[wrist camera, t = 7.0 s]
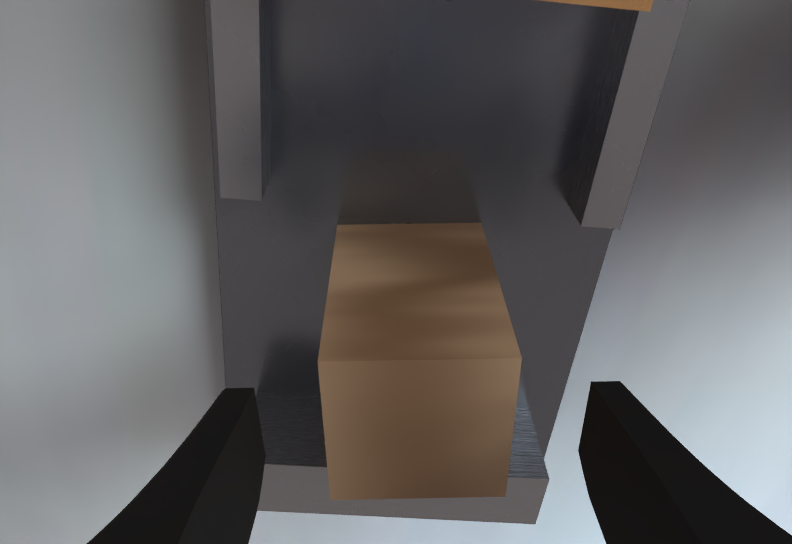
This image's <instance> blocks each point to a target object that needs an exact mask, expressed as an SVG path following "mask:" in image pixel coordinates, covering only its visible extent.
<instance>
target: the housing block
mask: <svg viewBox="0 0 792 544" xmlns="http://www.w3.org/2000/svg"><path fill="white" fill-rule="evenodd" d="M521 362H522V357H521V353H520V350H519V347H518V343H517V340H516V337H515V333H514V330H513V327H512V323H511V320H510V317H509V313H508V310H507V307H506V303H505V300H504V297H503V293H502V290H501V287H500V283H499V280H498V277H497V273H496V270H495V267H494V263H493V260H492V257H491V253H490V250H489V246H488V243H487V240H486V236H485V233H484V230H483V226H482V223H425V224H359V225H337V230H336V237H335V244H334V251H333V257H332V264H331V271H330V278H329V285H328V292H327V299H326V306H325V313H324V320H323V327H322V334H321V341H320V348H319V355H318V372H319V383H320V394H321V405H322V416H323V427H324V437H325V448H326V459H327V470H328V481H329V492H330V500H361V499H413V498H465V497H506V490H507V481H508V473H509V464H510V456H511V447H512V439H513V430H514V421H515V413H516V404H517V396H518V387H519V379H520V370H521Z"/></svg>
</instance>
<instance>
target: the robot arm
mask: <svg viewBox="0 0 792 544" xmlns="http://www.w3.org/2000/svg"><path fill="white" fill-rule="evenodd" d="M578 451H579V456H580V460H581V465H582V469H583V474H584V478H585V482H586V486H587V490H588V494H589V497H590V500H591V503H592V506H593V508H594V511H595V514H596V517H597V519H598V522H599V525H600V528H601V530H602V533H603V536H604V538H605V541H606V544H792V535H790V534H789V533H788V532H786V531H785V530H783V529H782V528H781V527H779V526H778V525H776V524H775V523H774V522H773V521H771V520H770V519H769V518H767V517H766V516H765V515H763V514H762V513H761V512H759V511H758V510H757V509H755V508H754V507H753V506H752V505H750V504H749V503H748V502H746V501H745V500H744V499H743V498H741V497H740V496H739V495H738V494H737V493H735V492H734V491H733V490H732V489H731V488H729V487H728V486H727V485H726V484H725V483H724V482H723V481H721V480H720V479H719V478H718V477H717V476H716V475H714V474H713V473H712V472H711V471H710V470H709V469H708V468H706V467H705V466H704V465H703V464H702V463H701V462H700V461H699V460H698V459H697V458H696V457H695V456H694V455H692V454H691V453H690V452H689V451H688V450H687V449H686V448H685V447H684V446H683V445H682V444H681V443H680V442H679V441H678V440H677V439H676V438H675V437H674V436H673V435H672V434H671V433H670V432H669V431H668V430H667V429H666V428H665V427H664V426H663V425H662V424H661V423H660V422H659V421H658V420H657V419H656V418H655V417H654V416H653V415H652V414H651V413H650V412H649V411H648V410H647V409H646V408H645V407H644V406H643V405H642V404H641V402H640V401H639V400H638V399H637V398H636V397H635V396H634V395H633V394H632V393H631V392H630V391H629V390H628V389H627V388H626V387H625V386H624V385H623V384H622V383H621V382H620V381H606V382H591V386H590V391H589V396H588V402H587V407H586V412H585V418H584V423H583V428H582V434H581V439H580V444H579V450H578ZM265 458H266V455H265V449H264V443H263V437H262V431H261V425H260V419H259V413H258V408H257V402H256V396H255V390H254V388H225V389H224V390H223V391H222V392H221V393H220V395H219V396H218V397H217V399H216V400H215V402H214V403H213V404H212V406H211V407H210V408H209V410H208V411H207V412H206V414H205V415H204V416H203V418H202V419H201V420H200V422H199V423H198V424H197V425H196V427H195V428H194V429H193V431H192V432H191V433H190V434H189V436H188V437H187V438H186V439H185V441H184V442H183V443H182V444H181V446H180V447H179V448H178V449H177V450H176V452H175V453H174V454H173V455H172V456H171V458H170V459H169V460H168V461H167V463H166V464H165V465H164V466H163V467H162V468H161V469H160V471H159V472H158V473H157V474H156V475H155V476H154V477H153V478H152V479H151V480H150V482H149V483H148V484H147V485H146V486H145V487H144V488H143V489H142V490H141V491H140V493H139V494H138V495H137V496H136V497H135V498H134V499H133V500H132V501H131V502H130V503H129V504H128V505H127V506H126V507H125V508H124V509H123V510H122V511H121V512H120V513H119V514H118V515H117V516H116V517H115V518H114V519H113V520H112V521H111V522H110V523H109V524H108V525H107V526H106V527H105V528H104V529H102V530H101V531H100V532H99V533H98V534H97V535H96V536H95V537H94V538H93V539H92V540H90V541H89V542H88V543H87V544H248V543H249V539H250V535H251V531H252V528H253V524H254V520H255V516H256V512H257V508H258V504H259V500H260V493H261V487H262V480H263V473H264V465H265Z"/></svg>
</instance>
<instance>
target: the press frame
mask: <svg viewBox="0 0 792 544" xmlns="http://www.w3.org/2000/svg"><path fill="white" fill-rule="evenodd" d="M689 1H690V0H653V3H652V7H651V10H650V12H647V11H637V10H627V9H618V8H608V7H598V6H588V5H578V4H568V3H558V2H549V1H539V0H204V3H205V21H206V39H207V57H208V75H209V93H210V111H211V129H212V147H213V165H214V184H215V202H216V220H217V238H218V256H219V274H220V292H221V310H222V328H223V347H224V365H225V383H226V388H254V390H255V396H256V402H257V408H258V413H259V419H260V425H261V431H262V437H263V443H264V449H265V455H266V458H265V465H264V473H263V480H262V487H261V493H260V500H259V504H258V508H257V510H258V511H278V512H299V513H319V514H340V515H360V516H380V517H401V518H421V519H441V520H462V521H482V522H502V523H523V524H535V523H536V520H537V517H538V514H539V511H540V507H541V504H542V501H543V498H544V495H545V492H546V488H547V485H548V482H549V477H548V473H547V469H546V466H545V462H544V456H545V453H546V450H547V446H548V443H549V440H550V436H551V433H552V430H553V426H554V423H555V420H556V416H557V413H558V410H559V406H560V403H561V400H562V396H563V393H564V390H565V386H566V383H567V380H568V376H569V373H570V370H571V366H572V363H573V360H574V356H575V353H576V350H577V347H578V343H579V340H580V337H581V333H582V330H583V327H584V323H585V320H586V317H587V313H588V310H589V307H590V303H591V300H592V297H593V293H594V290H595V287H596V283H597V280H598V277H599V273H600V270H601V267H602V263H603V260H604V257H605V253H606V250H607V247H608V243H609V240H610V237H611V233H612V230H613V229H620V226H621V223H622V220H623V216H624V213H625V210H626V207H627V203H628V200H629V197H630V194H631V190H632V187H633V184H634V180H635V177H636V174H637V171H638V167H639V164H640V161H641V158H642V154H643V151H644V148H645V145H646V141H647V138H648V135H649V132H650V128H651V125H652V122H653V119H654V115H655V112H656V109H657V106H658V102H659V99H660V96H661V92H662V89H663V86H664V83H665V79H666V76H667V73H668V70H669V66H670V63H671V60H672V57H673V53H674V50H675V47H676V44H677V40H678V37H679V34H680V31H681V27H682V24H683V21H684V17H685V14H686V11H687V8H688V4H689ZM425 223H482V226H483V230H484V233H485V236H486V240H487V243H488V246H489V250H490V253H491V257H492V260H493V263H494V267H495V270H496V273H497V277H498V280H499V283H500V287H501V290H502V293H503V297H504V300H505V303H506V307H507V310H508V313H509V317H510V320H511V323H512V327H513V330H514V333H515V337H516V340H517V343H518V347H519V350H520V353H521V357H522V362H521V370H520V379H519V387H518V396H517V404H516V413H515V421H514V430H513V439H512V447H511V456H510V464H509V473H508V481H507V490H506V497H465V498H413V499H361V500H330V492H329V481H328V470H327V459H326V448H325V437H324V427H323V416H322V405H321V394H320V383H319V372H318V355H319V348H320V341H321V334H322V327H323V320H324V313H325V306H326V299H327V292H328V285H329V278H330V271H331V264H332V257H333V251H334V244H335V237H336V230H337V225H359V224H425Z"/></svg>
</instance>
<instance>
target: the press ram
mask: <svg viewBox="0 0 792 544" xmlns="http://www.w3.org/2000/svg"><path fill="white" fill-rule="evenodd" d="M539 1H549V2H558V3H568V4H578V5H588V6H598V7H608V8H618V9H627V10H637V11H647V12H650V10H651V7H652V3H653V0H539Z"/></svg>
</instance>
